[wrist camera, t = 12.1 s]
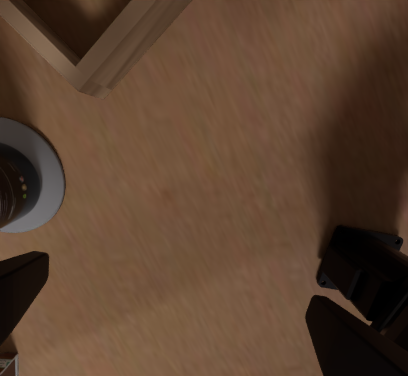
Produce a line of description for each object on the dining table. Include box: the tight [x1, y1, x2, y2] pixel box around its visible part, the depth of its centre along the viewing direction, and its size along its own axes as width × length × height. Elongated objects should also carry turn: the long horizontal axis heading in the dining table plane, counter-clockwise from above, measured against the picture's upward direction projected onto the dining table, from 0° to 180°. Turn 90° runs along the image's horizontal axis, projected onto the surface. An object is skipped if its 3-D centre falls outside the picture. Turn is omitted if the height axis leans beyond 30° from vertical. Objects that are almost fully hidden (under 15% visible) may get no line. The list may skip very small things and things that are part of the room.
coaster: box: [0, 117, 65, 233], centre depth 19 cm, size 10×10×1 cm
